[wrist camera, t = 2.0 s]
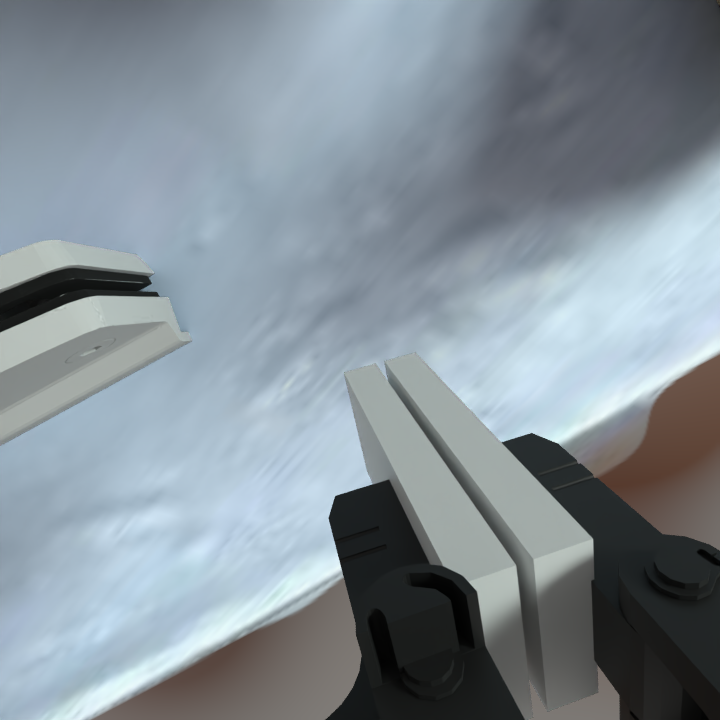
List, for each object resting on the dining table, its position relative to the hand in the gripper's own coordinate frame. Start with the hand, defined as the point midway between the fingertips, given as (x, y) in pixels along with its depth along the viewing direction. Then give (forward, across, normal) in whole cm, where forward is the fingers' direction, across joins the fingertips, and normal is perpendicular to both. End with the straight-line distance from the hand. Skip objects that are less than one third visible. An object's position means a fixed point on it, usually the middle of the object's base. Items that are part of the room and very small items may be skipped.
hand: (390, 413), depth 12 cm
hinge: (+17, -15, 0) cm, 23 cm away
